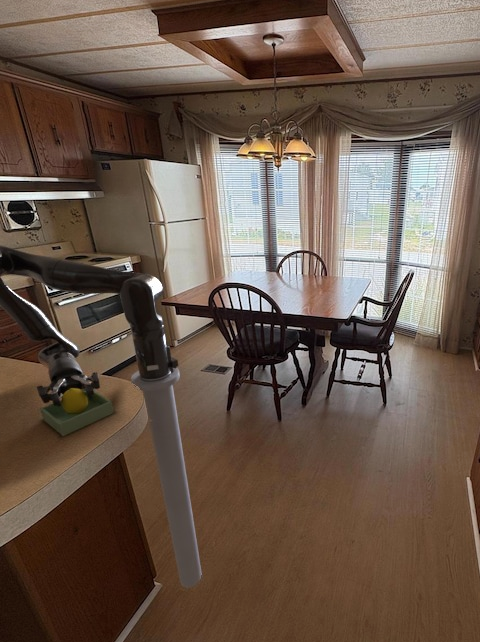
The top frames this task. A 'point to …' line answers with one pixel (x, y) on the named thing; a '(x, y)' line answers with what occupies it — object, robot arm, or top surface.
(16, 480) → the top surface
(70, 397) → the lemon
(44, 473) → the top surface
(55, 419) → the bin
